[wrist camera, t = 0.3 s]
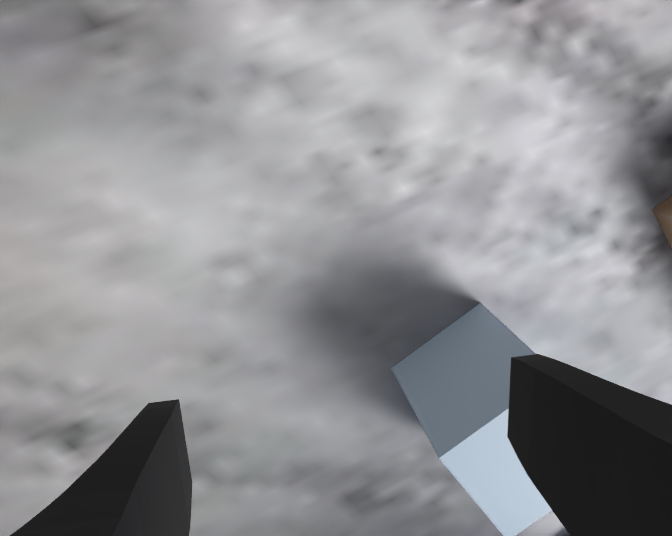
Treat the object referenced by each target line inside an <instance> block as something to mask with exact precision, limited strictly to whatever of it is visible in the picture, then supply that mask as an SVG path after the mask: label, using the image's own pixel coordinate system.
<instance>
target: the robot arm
mask: <svg viewBox="0 0 672 536" xmlns="http://www.w3.org/2000/svg"><path fill="white" fill-rule="evenodd" d="M507 437H508V439H509V441H510V443H511V445H512V447H513V449H514V451H515V453H516V455H517V457H518V459H519V461H520V463H521V464H522V466H523V468H524V470H525V472H526V473H527V475H528V477H529V478H530V480H531V481H532V482H533V484H534V485H535V487H536V488H537V490H538V491H539V492H540V494H541V495H542V497H543V498H544V499H545V501H546V502H547V504H548V505H549V506H550V508H551V509H552V511H553V512H554V513H555V515H556V516H557V517H558V519H559V520H560V522H561V523H562V524H563V526H564V527H565V528H566V530H567V531H568V533H569V534H570V535H571V536H672V405H671V404H668V403H665V402H662V401H659V400H656V399H654V398H651V397H648V396H645V395H643V394H640V393H637V392H635V391H632V390H629V389H627V388H624V387H622V386H619V385H617V384H614V383H612V382H609V381H607V380H604V379H602V378H600V377H597V376H595V375H592V374H590V373H587V372H585V371H583V370H580V369H578V368H575V367H573V366H570V365H568V364H565V363H563V362H560V361H557V360H555V359H552V358H549V357H546V356H542V355H539V354H533V355H525V356H517V357H511V369H510V390H509V411H508V432H507ZM191 498H192V479H191V472H190V466H189V460H188V453H187V447H186V441H185V435H184V428H183V422H182V416H181V409H180V403H179V399H178V400H170V401H162V402H154V403H148V404H147V405H146V406H145V408H144V409H143V410H142V411H141V412H140V413H139V414H138V415H137V416H136V418H135V419H134V420H133V421H132V422H131V423H130V424H129V426H128V427H127V428H126V429H125V430H124V431H123V432H122V433H121V435H120V436H119V437H118V438H117V439H116V440H115V441H114V442H113V443H112V445H111V446H110V447H109V448H108V449H107V450H106V451H105V452H104V453H103V454H102V455H101V456H100V458H99V459H98V460H97V461H96V462H94V463H93V464H92V465H91V466H90V467H89V468H88V469H87V470H86V471H85V472H84V473H83V474H82V475H81V476H80V477H79V478H78V479H77V480H76V481H75V482H74V483H73V484H72V485H71V486H70V487H69V488H68V489H67V490H66V491H65V492H63V493H62V494H61V495H60V496H59V497H58V498H57V499H55V500H54V501H53V502H52V503H51V504H50V505H48V506H47V507H46V508H45V509H44V510H42V511H41V512H40V513H39V514H37V515H36V516H35V517H34V518H32V519H31V520H30V521H29V522H27V523H26V524H25V525H24V526H22V527H21V528H20V529H18V530H17V531H16V532H14V533H13V534H12V535H10V536H189V531H190V519H191Z"/></svg>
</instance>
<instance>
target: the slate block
mask: <svg viewBox="0 0 672 536" xmlns="http://www.w3.org/2000/svg"><path fill="white" fill-rule="evenodd" d="M533 354H535V353H534V352H533V351H532V350H531V349H530V348H529V347H528V346H527V345H526V344H525V343H523V342H522V341H521V340H520V339H519V338H518V337H517V336H516V335H515V334H514V333H513V332H512V331H511V330H509V329H508V328H507V327H506V326H505V325H504V324H503V323H502V322H501V321H500V320H499V319H498V318H496V317H495V316H494V315H493V314H492V313H491V312H490V311H489V310H488V309H487V308H486V307H485V306H484V305H482V304H481V303H480V304H478V305H477V306H475V307H474V308H473V309H471V310H470V311H469V312H467V313H466V314H465V315H463V316H462V317H460V318H459V319H458V320H456V321H455V322H454V323H452V324H451V325H450V326H448V327H447V328H445V329H444V330H443V331H441V332H440V333H439V334H437V335H436V336H435V337H433V338H432V339H430V340H429V341H428V342H426V343H425V344H424V345H422V346H421V347H419V348H418V349H417V350H415V351H414V352H413V353H411V354H410V355H409V356H407V357H406V358H404V359H403V360H402V361H400V362H399V363H398V364H396V365H395V366H394V367H392V368H391V369H392V371H393V373H394V374H395V376H396V378H397V380H398V382H399V384H400V386H401V388H402V390H403V391H404V393H405V395H406V397H407V399H408V401H409V403H410V405H411V406H412V408H413V410H414V412H415V414H416V416H417V418H418V420H419V422H420V423H421V425H422V427H423V429H424V431H425V433H426V435H427V437H428V439H429V440H430V442H431V444H432V446H433V448H434V450H435V452H436V454H437V455H438V457H439V459H440V460H441V461H442V462H443V464H444V465H445V466H446V467H447V468H448V470H449V471H450V472H451V473H452V475H453V476H454V477H455V478H456V479H457V481H458V482H459V483H460V484H461V485H462V487H463V488H464V489H465V490H466V491H467V493H468V494H469V495H470V496H471V497H472V499H473V500H474V501H475V502H476V503H477V505H478V506H479V507H480V508H481V509H482V511H483V512H484V513H485V514H486V515H487V517H488V518H489V519H490V520H491V521H492V523H493V524H494V525H495V526H496V527H497V529H498V530H499V531H500V532H501V533H502V535H503V536H516V535H517V534H519V533H520V532H521V531H523V530H524V529H526V528H527V527H529V526H530V525H531V524H533V523H534V522H536V521H537V520H539V519H540V518H541V517H543V516H544V515H546V514H547V513H549V512H550V511H551V510H552V509H551V508H550V506H549V505H548V504H547V502H546V501H545V499H544V498H543V497H542V495H541V494H540V492H539V491H538V490H537V488H536V487H535V485H534V484H533V482H532V481H531V480H530V478H529V477H528V475H527V473H526V472H525V470H524V468H523V466H522V464H521V463H520V461H519V459H518V457H517V455H516V453H515V451H514V449H513V447H512V445H511V443H510V441H509V439H508V437H507V432H508V411H509V390H510V369H511V357H517V356H525V355H533Z"/></svg>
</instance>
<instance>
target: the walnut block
mask: <svg viewBox="0 0 672 536" xmlns="http://www.w3.org/2000/svg"><path fill="white" fill-rule="evenodd" d="M652 211H653V212H654V214H655V216H656V218H657V220H658V222H659V224H660V226H661V228H662V230H663V232H664V234H665V236H666V238H667V240H668V242H669V244H670V246H671V248H672V196H671V197H669V198H668V199H667V200H665V201H664V202H662V203H661V204H660V205H658V206H657V207H655V208H654V209H653V210H652Z"/></svg>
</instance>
